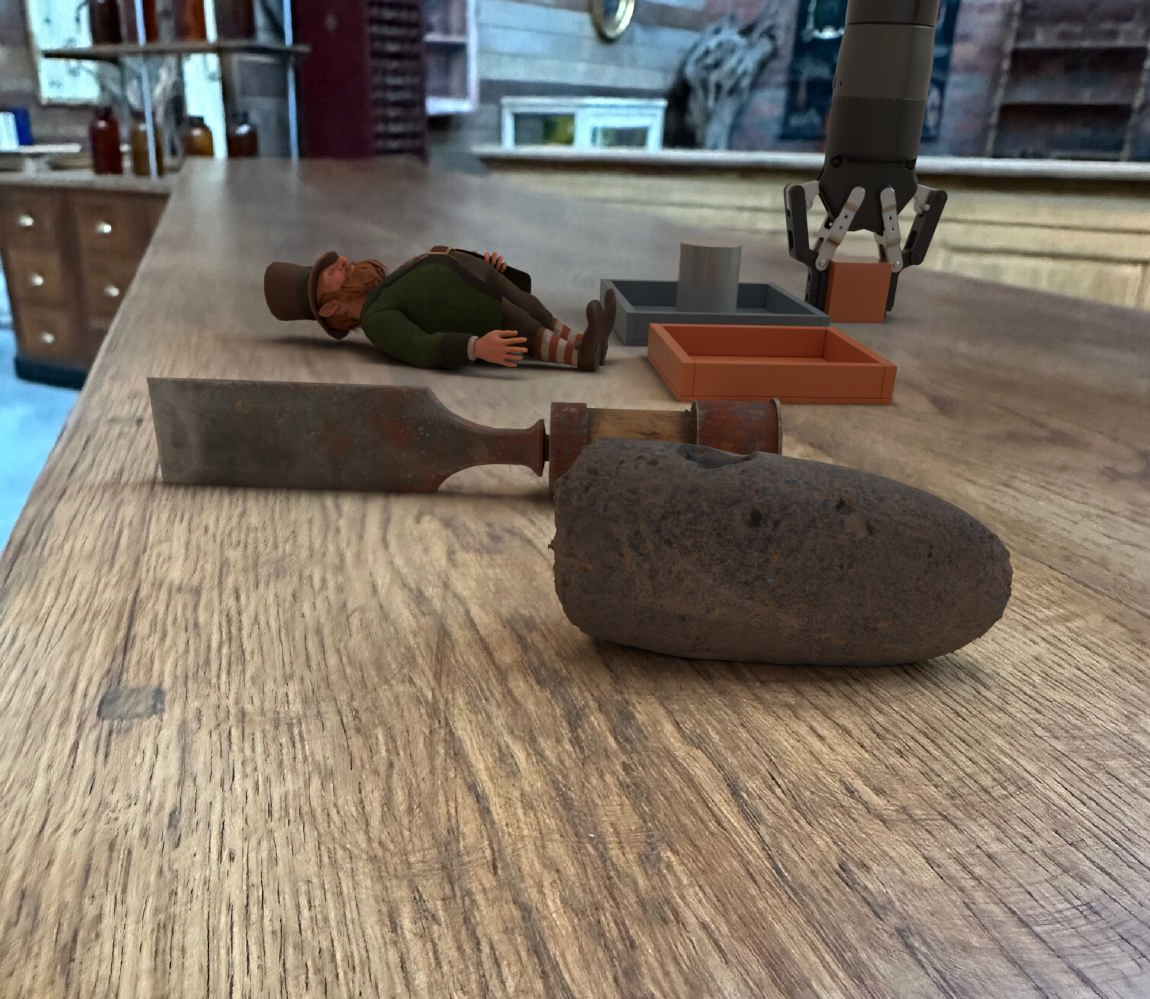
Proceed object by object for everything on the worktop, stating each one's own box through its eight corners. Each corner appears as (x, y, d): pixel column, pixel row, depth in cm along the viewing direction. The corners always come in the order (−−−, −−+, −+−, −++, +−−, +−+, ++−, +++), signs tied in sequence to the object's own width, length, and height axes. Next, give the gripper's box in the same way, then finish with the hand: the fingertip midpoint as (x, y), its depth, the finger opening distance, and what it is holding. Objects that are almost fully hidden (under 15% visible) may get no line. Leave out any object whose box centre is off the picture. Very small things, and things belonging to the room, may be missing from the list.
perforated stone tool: (980, 645, 40) (1027, 450, 37) (1005, 712, 36) (1061, 498, 32) (566, 606, 42) (572, 416, 38) (541, 666, 38) (545, 458, 34)
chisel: (144, 505, 50) (125, 390, 48) (177, 473, 55) (161, 366, 52) (773, 525, 51) (787, 413, 48) (757, 492, 55) (770, 387, 53)
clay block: (864, 316, 103) (874, 256, 100) (882, 326, 98) (892, 263, 96) (811, 315, 102) (819, 255, 100) (826, 325, 98) (835, 262, 95)
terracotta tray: (829, 364, 83) (834, 326, 82) (890, 408, 72) (898, 365, 70) (646, 361, 82) (649, 323, 80) (679, 406, 70) (682, 362, 69)
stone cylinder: (727, 317, 96) (735, 240, 93) (740, 328, 92) (749, 247, 88) (669, 316, 95) (675, 238, 92) (679, 327, 91) (686, 245, 88)
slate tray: (770, 313, 102) (774, 282, 101) (825, 352, 87) (830, 316, 86) (599, 310, 100) (600, 278, 99) (625, 349, 85) (627, 312, 84)
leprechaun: (581, 352, 71) (213, 279, 74) (580, 460, 79) (250, 390, 82) (624, 241, 76) (277, 177, 79) (619, 354, 84) (306, 292, 87)
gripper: (806, 90, 87) (778, 322, 96) (983, 97, 89) (940, 325, 98) (781, 90, 94) (758, 308, 103) (947, 96, 95) (910, 311, 104)
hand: (847, 315), depth 100 cm, fingers closed on clay block, 5 cm apart
